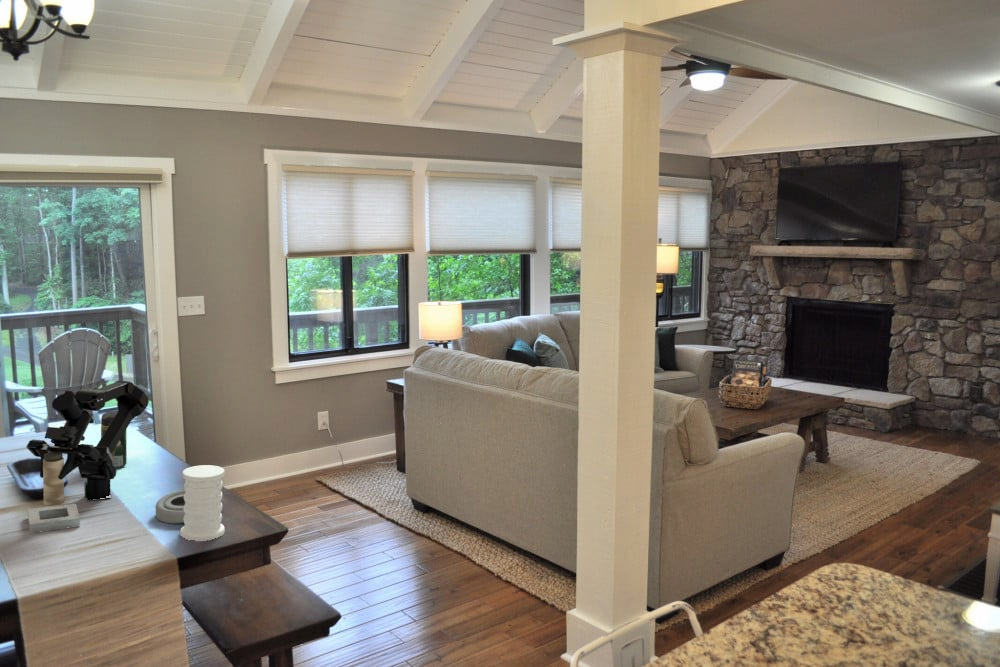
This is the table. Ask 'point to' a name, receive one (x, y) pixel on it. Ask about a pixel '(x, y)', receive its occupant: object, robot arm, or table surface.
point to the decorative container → (203, 503)
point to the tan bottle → (53, 479)
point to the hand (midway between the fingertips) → (50, 478)
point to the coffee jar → (120, 450)
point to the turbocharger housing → (172, 507)
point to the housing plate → (53, 518)
